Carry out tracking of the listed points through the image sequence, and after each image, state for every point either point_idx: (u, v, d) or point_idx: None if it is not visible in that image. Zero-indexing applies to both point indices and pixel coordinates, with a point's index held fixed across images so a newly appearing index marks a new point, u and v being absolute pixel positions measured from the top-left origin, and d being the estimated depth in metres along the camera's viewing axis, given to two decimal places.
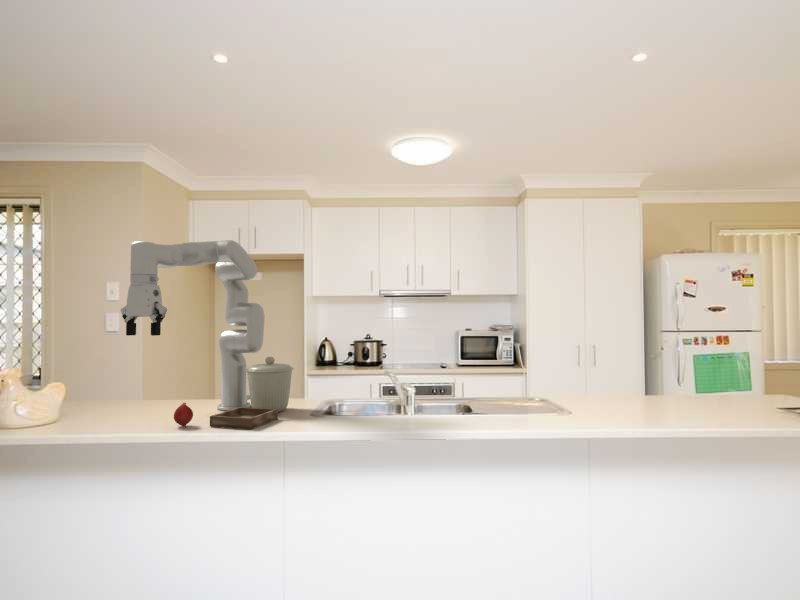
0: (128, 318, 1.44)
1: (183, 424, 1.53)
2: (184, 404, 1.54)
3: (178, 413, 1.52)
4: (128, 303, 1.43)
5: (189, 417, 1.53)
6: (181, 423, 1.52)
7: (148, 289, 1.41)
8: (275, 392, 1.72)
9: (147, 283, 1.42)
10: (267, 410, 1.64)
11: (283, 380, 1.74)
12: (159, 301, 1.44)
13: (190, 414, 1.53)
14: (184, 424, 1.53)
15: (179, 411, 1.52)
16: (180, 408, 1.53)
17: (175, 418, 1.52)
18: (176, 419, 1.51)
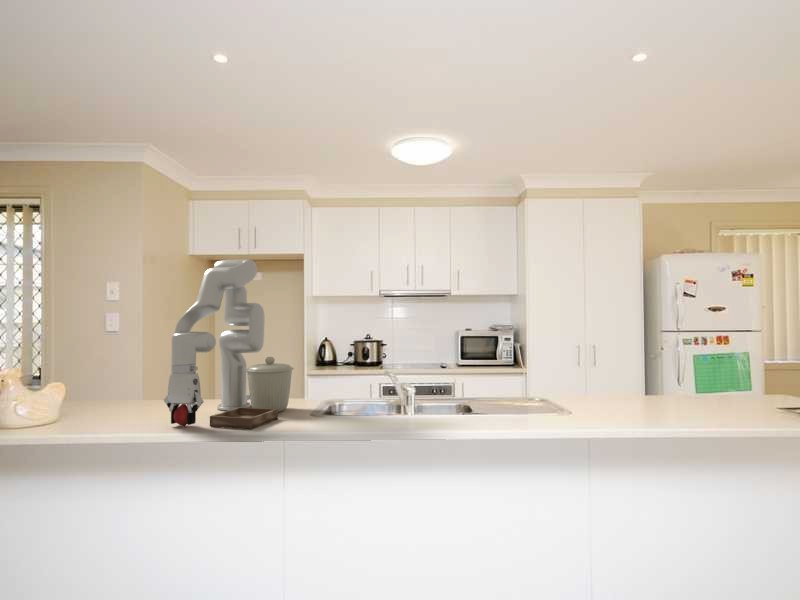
0: (173, 407, 1.54)
1: (183, 424, 1.53)
2: (184, 404, 1.54)
3: (178, 413, 1.52)
4: (169, 391, 1.53)
5: None
6: (181, 423, 1.52)
7: (188, 379, 1.51)
8: (275, 392, 1.72)
9: (187, 373, 1.52)
10: (267, 410, 1.64)
11: (283, 380, 1.74)
12: (198, 388, 1.54)
13: None
14: (184, 424, 1.53)
15: (179, 411, 1.52)
16: (180, 408, 1.53)
17: (175, 418, 1.52)
18: (176, 419, 1.51)
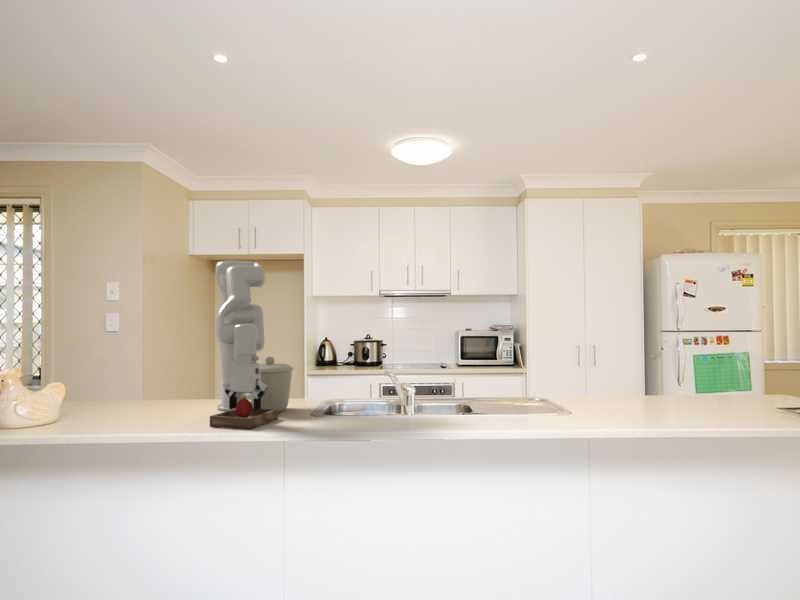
0: (231, 393, 1.59)
1: (244, 417, 1.58)
2: (244, 398, 1.59)
3: (240, 406, 1.56)
4: (231, 380, 1.58)
5: (250, 410, 1.58)
6: (243, 416, 1.57)
7: (251, 368, 1.56)
8: (275, 392, 1.72)
9: (250, 363, 1.57)
10: (267, 410, 1.64)
11: (283, 380, 1.74)
12: (259, 378, 1.59)
13: (251, 407, 1.58)
14: (245, 417, 1.58)
15: (241, 404, 1.57)
16: (241, 402, 1.57)
17: (237, 411, 1.56)
18: (238, 412, 1.56)
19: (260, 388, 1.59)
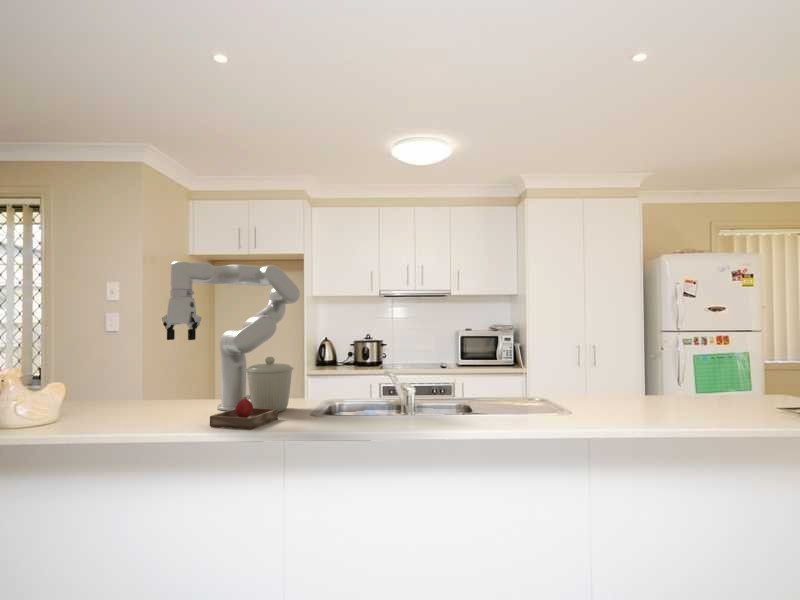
0: (168, 325, 1.73)
1: (244, 417, 1.58)
2: (245, 398, 1.59)
3: (240, 406, 1.56)
4: (168, 313, 1.72)
5: (250, 410, 1.58)
6: (243, 416, 1.57)
7: (185, 301, 1.70)
8: (275, 392, 1.72)
9: (185, 296, 1.70)
10: (267, 410, 1.64)
11: (283, 380, 1.74)
12: (194, 311, 1.73)
13: (251, 408, 1.58)
14: (245, 417, 1.58)
15: (241, 404, 1.57)
16: (242, 402, 1.57)
17: (237, 411, 1.56)
18: (238, 412, 1.56)
19: None
